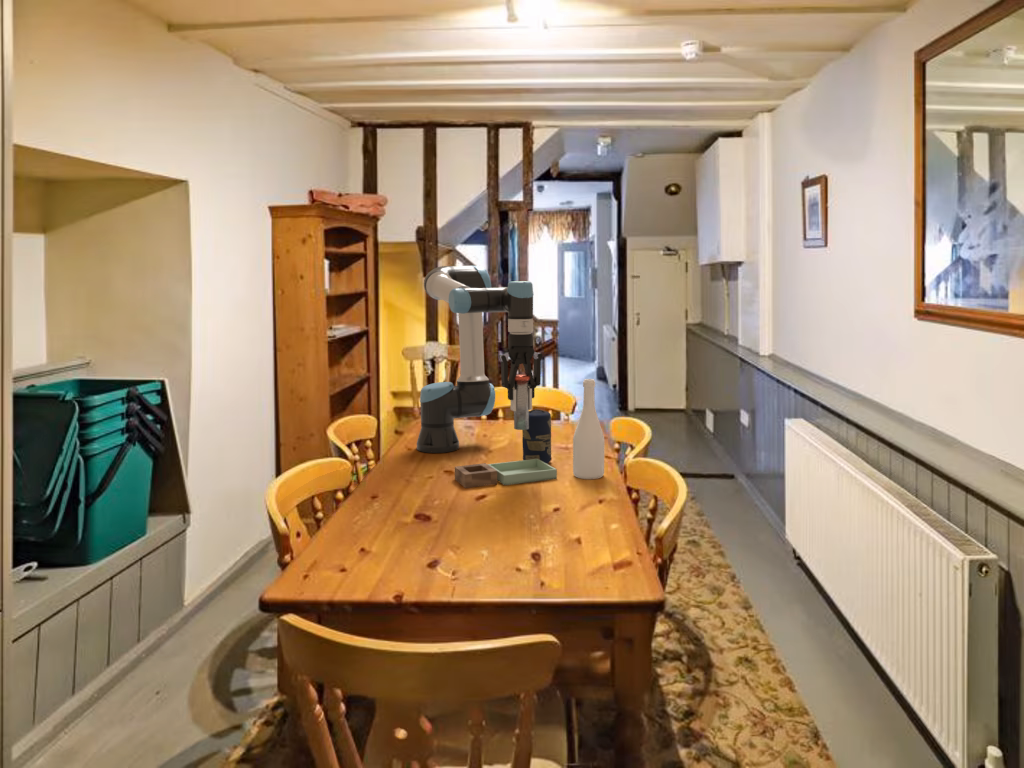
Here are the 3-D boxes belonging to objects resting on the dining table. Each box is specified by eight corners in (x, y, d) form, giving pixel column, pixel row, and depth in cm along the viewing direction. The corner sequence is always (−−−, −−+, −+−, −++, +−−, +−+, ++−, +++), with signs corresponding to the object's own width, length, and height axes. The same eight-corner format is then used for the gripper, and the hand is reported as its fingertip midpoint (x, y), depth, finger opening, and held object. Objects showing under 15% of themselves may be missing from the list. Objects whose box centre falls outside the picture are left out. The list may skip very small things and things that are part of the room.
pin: (509, 427, 229) (509, 375, 226) (526, 425, 231) (525, 374, 229) (516, 430, 224) (516, 377, 221) (533, 429, 226) (533, 376, 223)
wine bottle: (566, 476, 229) (567, 379, 225) (585, 470, 236) (586, 376, 232) (591, 481, 223) (592, 382, 218) (610, 475, 230) (611, 379, 225)
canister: (548, 467, 240) (548, 412, 237) (520, 465, 242) (519, 411, 239) (553, 459, 249) (553, 407, 247) (525, 458, 251) (525, 406, 249)
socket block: (454, 479, 227) (454, 466, 226) (485, 475, 231) (485, 463, 230) (465, 488, 218) (465, 474, 217) (497, 484, 221) (497, 471, 221)
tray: (487, 473, 233) (487, 464, 233) (537, 467, 239) (537, 458, 239) (504, 485, 220) (504, 475, 220) (556, 478, 226) (556, 469, 226)
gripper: (497, 335, 216) (498, 414, 220) (552, 332, 223) (552, 409, 226) (488, 333, 223) (489, 409, 227) (542, 331, 230) (542, 405, 233)
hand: (521, 409), depth 227 cm, fingers closed on pin, 4 cm apart
